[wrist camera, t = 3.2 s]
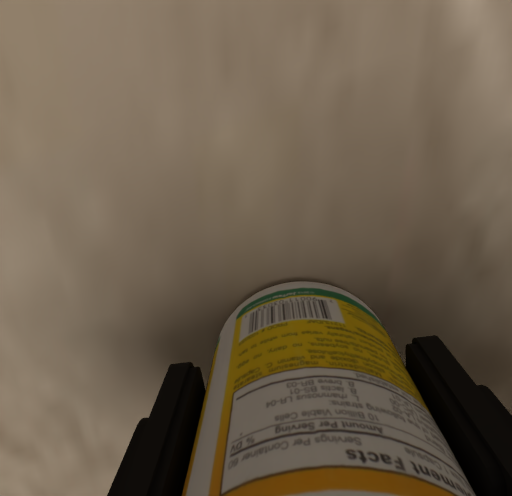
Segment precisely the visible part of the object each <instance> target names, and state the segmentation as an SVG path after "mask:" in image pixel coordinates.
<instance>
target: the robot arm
mask: <svg viewBox="0 0 512 496" xmlns="http://www.w3.org/2000/svg"><path fill="white" fill-rule="evenodd" d="M406 369H407V371H408V373H409V375H410V376H411V378H412V380H413V382H414V383H415V385H416V387H417V389H418V391H419V393H420V395H421V397H422V398H423V400H424V402H425V404H426V406H427V408H428V410H429V411H430V413H431V415H432V417H433V419H434V420H435V422H436V424H437V426H438V427H439V429H440V431H441V433H442V434H443V436H444V438H445V440H446V441H447V443H448V445H449V447H450V449H451V450H452V452H453V454H454V456H455V458H456V460H457V462H458V463H459V465H460V467H461V469H462V470H463V472H464V474H465V476H466V478H467V480H468V482H469V484H470V486H471V488H472V489H473V491H474V493H475V495H476V496H512V415H511V414H510V413H509V412H508V411H507V409H506V408H505V407H504V406H503V405H502V403H501V402H500V401H499V400H498V399H497V397H496V396H495V395H494V394H493V392H492V391H491V390H490V389H489V388H488V387H486V386H484V385H476V384H475V383H474V382H473V380H472V379H471V378H470V377H469V375H468V374H467V373H466V372H465V370H464V369H463V368H462V366H461V365H460V364H459V363H458V361H457V360H456V359H455V358H454V356H453V355H452V354H451V353H450V351H449V350H448V349H447V347H446V346H445V345H444V344H443V342H442V341H441V340H440V339H439V338H438V337H437V336H426V337H417V338H413V340H412V344H407V345H406ZM205 392H206V390H205V386H204V382H203V378H202V373H201V370H200V368H199V367H194V366H193V364H192V363H191V362H187V363H178V364H171V365H170V366H169V368H168V371H167V374H166V376H165V379H164V381H163V384H162V386H161V389H160V391H159V394H158V396H157V399H156V401H155V404H154V406H153V409H152V411H151V414H150V416H149V418H143V419H141V420H140V421H139V423H138V425H137V427H136V429H135V432H134V434H133V436H132V439H131V441H130V443H129V446H128V448H127V450H126V453H125V455H124V457H123V460H122V462H121V464H120V467H119V469H118V472H117V474H116V476H115V479H114V481H113V483H112V486H111V488H110V490H109V493H108V495H107V496H182V492H183V487H184V483H185V479H186V475H187V471H188V467H189V462H190V458H191V453H192V449H193V445H194V441H195V437H196V432H197V428H198V423H199V419H200V415H201V410H202V406H203V401H204V397H205Z"/></svg>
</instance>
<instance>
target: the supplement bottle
mask: <svg viewBox="0 0 512 496" xmlns="http://www.w3.org/2000/svg"><path fill="white" fill-rule="evenodd" d="M182 496H476V495H475V493H474V491H473V489H472V488H471V486H470V484H469V482H468V480H467V478H466V476H465V474H464V472H463V470H462V469H461V467H460V465H459V463H458V462H457V460H456V458H455V456H454V454H453V452H452V450H451V449H450V447H449V445H448V443H447V441H446V440H445V438H444V436H443V434H442V433H441V431H440V429H439V427H438V426H437V424H436V422H435V420H434V419H433V417H432V415H431V413H430V411H429V410H428V408H427V406H426V404H425V402H424V400H423V398H422V397H421V395H420V393H419V391H418V389H417V387H416V385H415V383H414V382H413V380H412V378H411V376H410V375H409V373H408V371H407V369H406V367H405V365H404V363H403V362H402V360H401V358H400V356H399V354H398V352H397V350H396V349H395V347H394V345H393V343H392V341H391V339H390V337H389V335H388V334H387V332H386V330H385V328H384V327H383V325H382V324H381V322H380V320H379V318H378V317H377V316H376V314H375V313H374V312H373V311H372V310H371V309H370V308H369V307H368V306H367V305H366V304H365V303H364V302H362V301H361V300H360V299H358V298H357V297H355V296H354V295H352V294H351V293H349V292H347V291H345V290H343V289H340V288H338V287H335V286H332V285H328V284H323V283H317V282H306V281H297V282H289V283H282V284H279V285H275V286H272V287H269V288H266V289H264V290H262V291H260V292H257V293H256V294H254V295H253V296H251V297H250V298H248V299H247V300H246V301H244V302H243V303H242V304H241V305H240V306H238V307H237V308H236V310H235V311H234V312H233V313H232V314H231V315H230V317H229V318H228V320H227V321H226V322H225V324H224V327H223V329H222V331H221V333H220V336H219V338H218V342H217V345H216V349H215V353H214V358H213V363H212V367H211V371H210V374H209V378H208V383H207V388H206V392H205V397H204V401H203V406H202V410H201V415H200V419H199V423H198V428H197V432H196V437H195V441H194V445H193V449H192V453H191V458H190V462H189V467H188V471H187V475H186V479H185V483H184V487H183V492H182Z"/></svg>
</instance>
